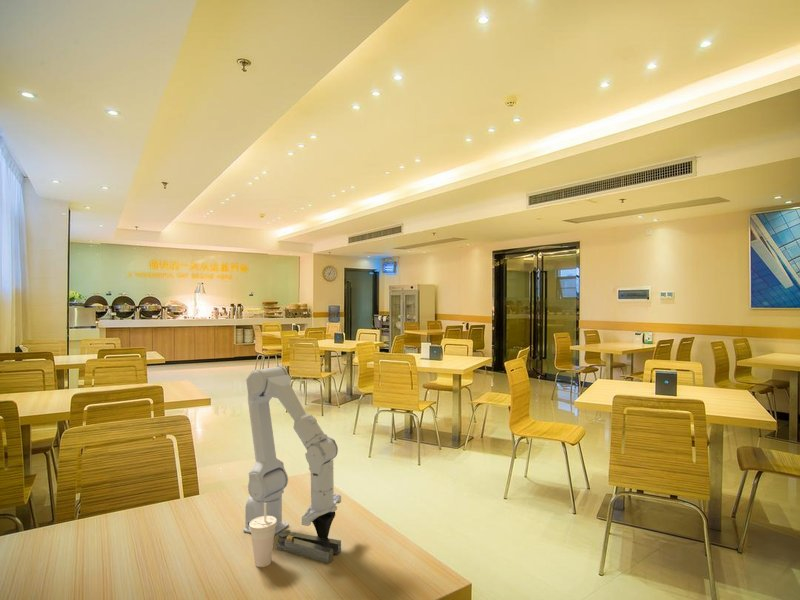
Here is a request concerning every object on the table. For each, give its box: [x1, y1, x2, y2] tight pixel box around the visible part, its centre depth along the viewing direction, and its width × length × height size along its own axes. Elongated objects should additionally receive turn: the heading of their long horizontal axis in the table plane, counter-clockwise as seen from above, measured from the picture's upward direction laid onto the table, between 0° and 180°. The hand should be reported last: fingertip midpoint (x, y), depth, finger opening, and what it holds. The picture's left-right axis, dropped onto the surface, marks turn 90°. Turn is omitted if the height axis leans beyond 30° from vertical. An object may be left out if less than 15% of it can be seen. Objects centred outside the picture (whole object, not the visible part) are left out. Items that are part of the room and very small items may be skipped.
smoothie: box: [249, 503, 277, 568], centre depth 106 cm, size 6×6×14 cm
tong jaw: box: [278, 529, 342, 555], centre depth 112 cm, size 17×3×3 cm, turn 72°
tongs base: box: [276, 535, 334, 565], centre depth 110 cm, size 17×5×4 cm, turn 65°
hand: (322, 541), depth 112 cm, fingers closed
